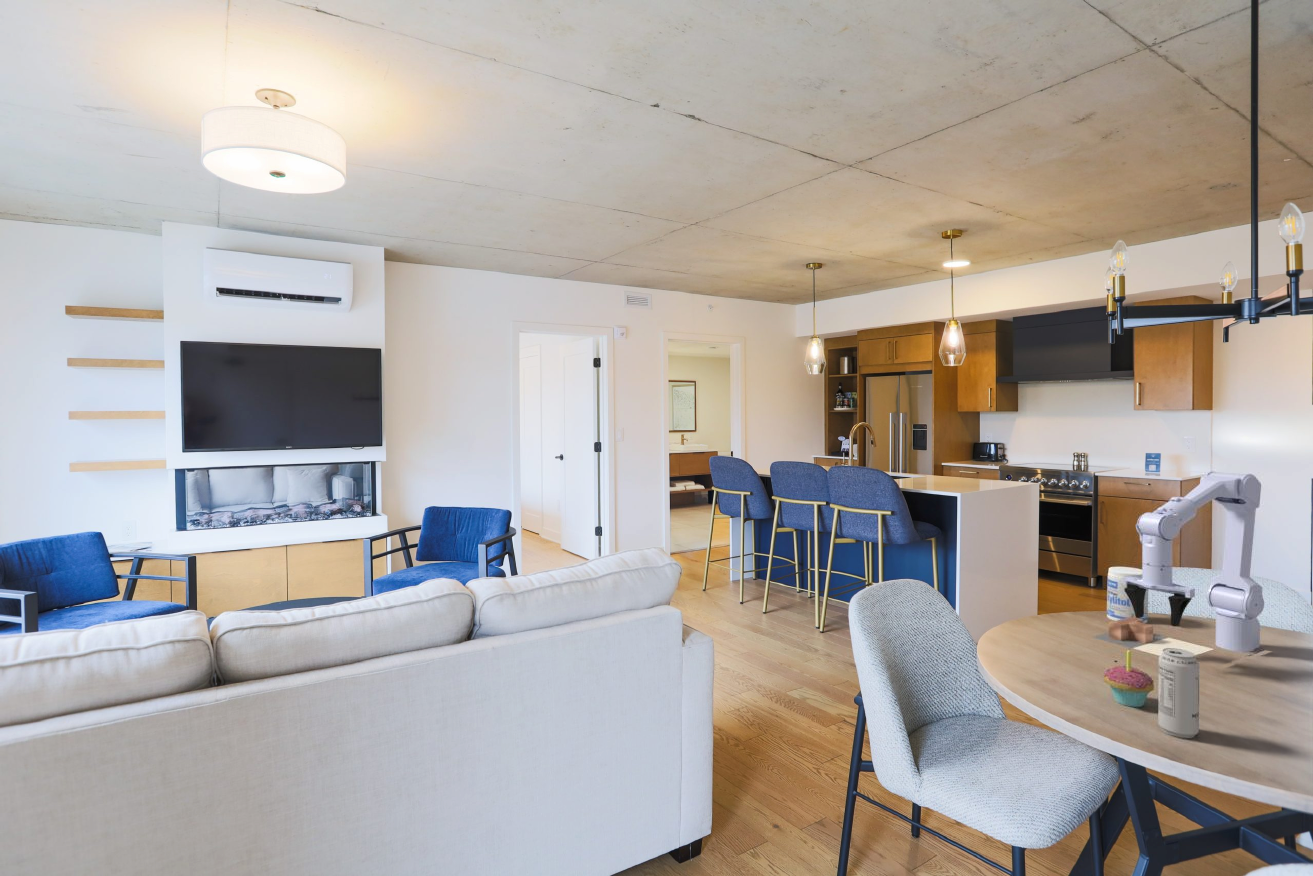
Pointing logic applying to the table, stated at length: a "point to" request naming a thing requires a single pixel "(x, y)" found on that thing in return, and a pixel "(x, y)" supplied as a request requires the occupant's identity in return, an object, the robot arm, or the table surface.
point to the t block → (1131, 630)
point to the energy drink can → (1178, 693)
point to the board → (1157, 644)
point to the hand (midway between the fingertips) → (1157, 621)
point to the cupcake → (1129, 684)
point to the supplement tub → (1122, 594)
